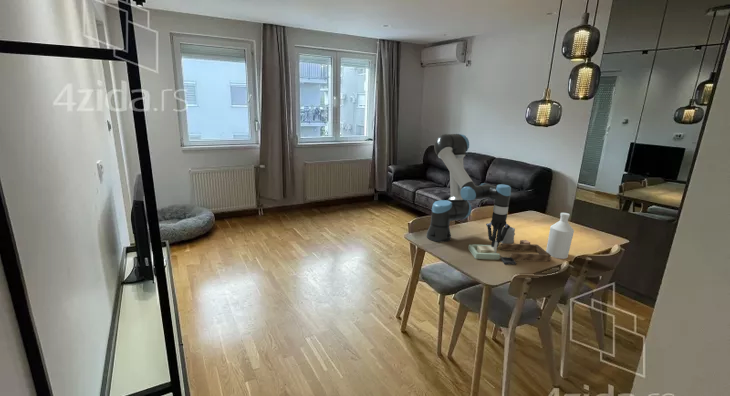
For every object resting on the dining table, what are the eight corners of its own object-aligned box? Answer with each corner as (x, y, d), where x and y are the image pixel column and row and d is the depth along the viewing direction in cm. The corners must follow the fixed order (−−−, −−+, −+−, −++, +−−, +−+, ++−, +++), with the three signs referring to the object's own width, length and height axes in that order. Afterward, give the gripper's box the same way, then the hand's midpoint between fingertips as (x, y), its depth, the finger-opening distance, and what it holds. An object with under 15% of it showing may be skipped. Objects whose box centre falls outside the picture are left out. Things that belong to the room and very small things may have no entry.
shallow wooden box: (511, 259, 192) (512, 254, 191) (500, 248, 207) (501, 243, 206) (549, 261, 193) (550, 255, 192) (536, 249, 207) (537, 244, 206)
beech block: (479, 256, 195) (480, 250, 194) (476, 252, 201) (477, 245, 200) (494, 257, 195) (495, 250, 194) (490, 252, 201) (491, 246, 200)
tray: (504, 264, 187) (504, 261, 186) (500, 259, 192) (500, 256, 192) (515, 264, 187) (515, 262, 187) (510, 259, 193) (511, 257, 192)
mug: (516, 244, 214) (519, 226, 211) (502, 247, 209) (505, 228, 206) (506, 239, 221) (509, 222, 218) (493, 242, 216) (495, 224, 212)
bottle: (573, 257, 198) (582, 216, 192) (556, 259, 195) (565, 217, 188) (556, 249, 209) (565, 210, 203) (540, 251, 206) (548, 211, 199)
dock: (475, 258, 192) (476, 253, 191) (468, 249, 204) (468, 244, 203) (499, 259, 192) (500, 254, 191) (490, 249, 204) (491, 245, 204)
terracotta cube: (523, 249, 208) (524, 242, 207) (519, 246, 212) (520, 240, 211) (529, 248, 209) (530, 242, 208) (524, 245, 213) (525, 239, 212)
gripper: (508, 210, 195) (502, 249, 202) (486, 210, 195) (480, 248, 201) (514, 215, 188) (507, 255, 194) (490, 214, 188) (484, 254, 194)
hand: (493, 251), depth 198 cm, fingers closed
